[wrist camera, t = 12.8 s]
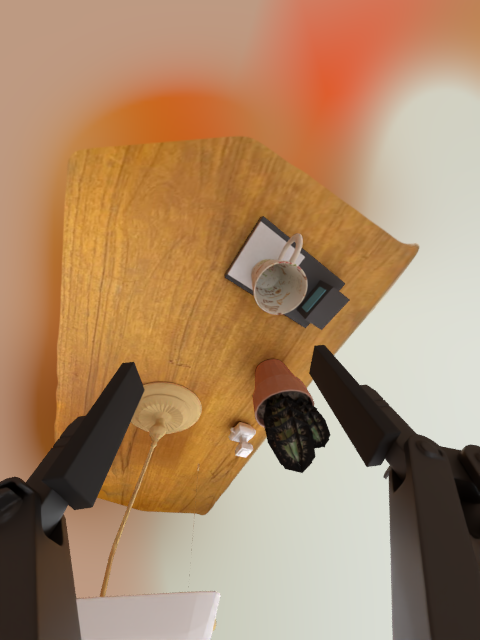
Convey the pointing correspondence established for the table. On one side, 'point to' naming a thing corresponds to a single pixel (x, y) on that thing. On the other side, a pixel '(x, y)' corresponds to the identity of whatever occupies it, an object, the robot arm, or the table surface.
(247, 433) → the stamp
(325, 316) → the scale
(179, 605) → the desk lamp
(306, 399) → the potted plant
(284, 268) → the mug
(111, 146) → the table surface
